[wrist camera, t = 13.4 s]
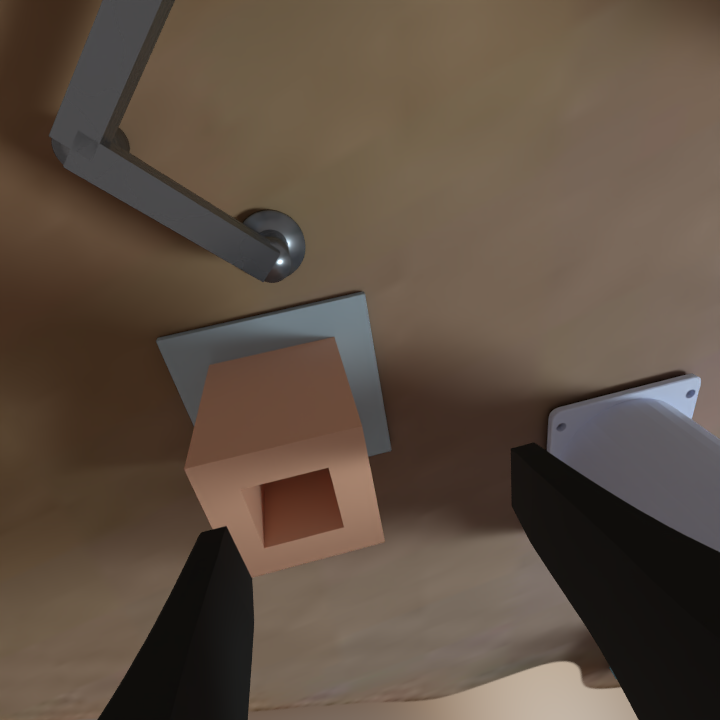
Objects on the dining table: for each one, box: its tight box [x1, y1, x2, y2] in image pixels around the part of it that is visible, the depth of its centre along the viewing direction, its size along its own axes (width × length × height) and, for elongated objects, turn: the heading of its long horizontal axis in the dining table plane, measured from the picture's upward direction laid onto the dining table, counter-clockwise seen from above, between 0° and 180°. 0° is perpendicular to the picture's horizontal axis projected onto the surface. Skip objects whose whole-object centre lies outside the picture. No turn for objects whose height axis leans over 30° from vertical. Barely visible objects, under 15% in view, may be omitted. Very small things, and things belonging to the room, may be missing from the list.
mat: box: [156, 292, 392, 457], centre depth 19 cm, size 8×8×1 cm
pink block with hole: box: [184, 337, 385, 578], centre depth 16 cm, size 5×5×6 cm
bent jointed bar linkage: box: [49, 0, 305, 283], centre depth 13 cm, size 10×11×3 cm
